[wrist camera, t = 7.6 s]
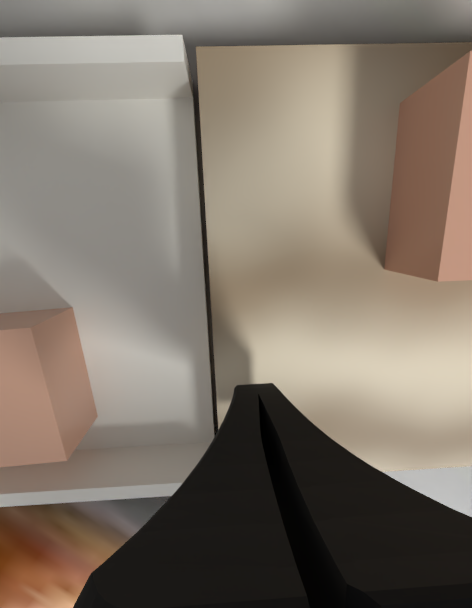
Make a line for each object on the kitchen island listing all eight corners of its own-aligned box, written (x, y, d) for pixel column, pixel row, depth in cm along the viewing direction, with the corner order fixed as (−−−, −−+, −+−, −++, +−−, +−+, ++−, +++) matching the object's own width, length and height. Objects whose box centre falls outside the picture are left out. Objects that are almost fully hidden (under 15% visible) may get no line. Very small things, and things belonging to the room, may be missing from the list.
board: (524, 428, 14) (572, 459, 12) (221, 446, 14) (221, 481, 12) (612, 75, 10) (702, 38, 8) (201, 83, 10) (195, 46, 8)
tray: (215, 446, 14) (213, 493, 11) (-20, 460, 13) (-76, 511, 11) (192, 83, 10) (182, 35, 7) (-135, 90, 9) (-258, 41, 7)
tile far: (-77, 474, 10) (-18, 427, 12) (67, 461, 10) (97, 416, 12) (-134, 341, 9) (-56, 317, 11) (30, 327, 9) (72, 307, 11)
